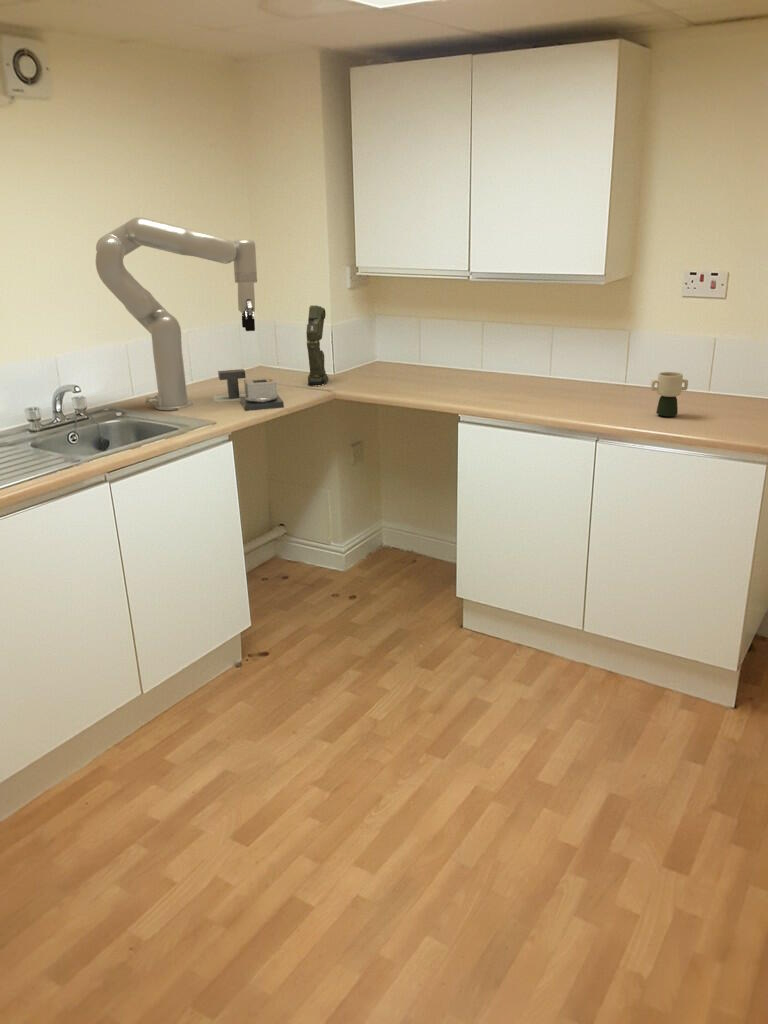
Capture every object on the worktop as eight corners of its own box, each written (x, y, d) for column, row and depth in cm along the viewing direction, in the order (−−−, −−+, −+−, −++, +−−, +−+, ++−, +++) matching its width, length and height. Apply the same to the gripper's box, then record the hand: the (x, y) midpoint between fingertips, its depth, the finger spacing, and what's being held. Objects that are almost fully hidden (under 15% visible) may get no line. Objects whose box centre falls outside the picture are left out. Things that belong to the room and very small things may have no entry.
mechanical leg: (320, 386, 308) (321, 303, 304) (301, 385, 309) (302, 303, 306) (330, 387, 321) (331, 308, 318) (312, 386, 323) (313, 308, 319)
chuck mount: (245, 410, 277) (244, 405, 277) (240, 402, 289) (240, 397, 288) (283, 407, 281) (283, 401, 280) (277, 399, 292) (277, 394, 292)
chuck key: (221, 399, 292) (219, 373, 288) (220, 397, 296) (217, 371, 292) (247, 397, 294) (245, 371, 291) (245, 395, 298) (243, 369, 295)
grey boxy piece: (247, 403, 278) (245, 384, 275) (243, 396, 288) (241, 378, 285) (279, 400, 280) (278, 382, 278) (274, 393, 290) (273, 376, 288)
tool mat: (215, 403, 289) (215, 402, 289) (212, 397, 298) (212, 396, 298) (249, 400, 292) (249, 399, 292) (246, 395, 301) (246, 393, 301)
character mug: (681, 412, 258) (685, 371, 254) (688, 418, 252) (692, 375, 247) (645, 413, 259) (649, 372, 255) (651, 418, 252) (655, 376, 248)
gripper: (232, 276, 288) (235, 326, 294) (237, 280, 273) (240, 332, 278) (253, 276, 290) (256, 325, 296) (260, 279, 274) (262, 331, 280)
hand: (248, 329), depth 287 cm, fingers open, 9 cm apart
